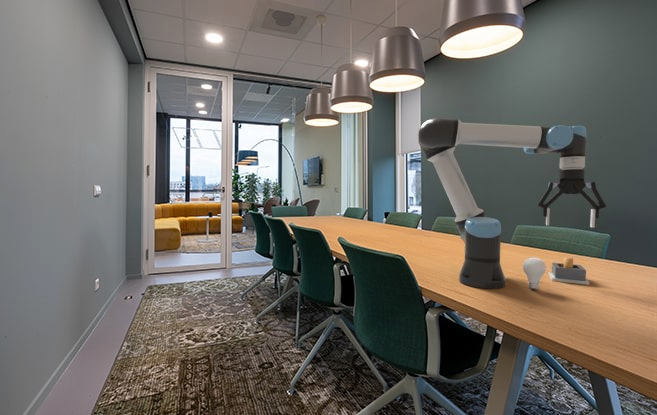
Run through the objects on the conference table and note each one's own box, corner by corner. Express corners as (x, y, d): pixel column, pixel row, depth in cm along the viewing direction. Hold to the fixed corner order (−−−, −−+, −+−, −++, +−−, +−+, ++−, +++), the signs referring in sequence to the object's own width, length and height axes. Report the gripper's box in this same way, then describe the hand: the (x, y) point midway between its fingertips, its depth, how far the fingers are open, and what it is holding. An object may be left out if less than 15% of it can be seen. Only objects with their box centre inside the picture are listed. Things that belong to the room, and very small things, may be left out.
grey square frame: (555, 278, 120) (555, 267, 120) (551, 272, 128) (552, 262, 128) (585, 281, 116) (586, 270, 116) (580, 275, 124) (580, 264, 124)
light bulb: (543, 288, 111) (544, 256, 111) (547, 293, 105) (548, 260, 105) (521, 285, 114) (521, 254, 114) (523, 291, 108) (524, 258, 108)
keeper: (552, 280, 120) (552, 259, 120) (548, 274, 129) (549, 254, 129) (589, 284, 115) (590, 262, 115) (583, 277, 124) (583, 257, 123)
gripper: (532, 169, 122) (530, 225, 123) (619, 167, 111) (615, 229, 112) (531, 170, 129) (529, 223, 130) (612, 168, 117) (609, 227, 118)
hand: (569, 226), depth 121 cm, fingers open, 13 cm apart
